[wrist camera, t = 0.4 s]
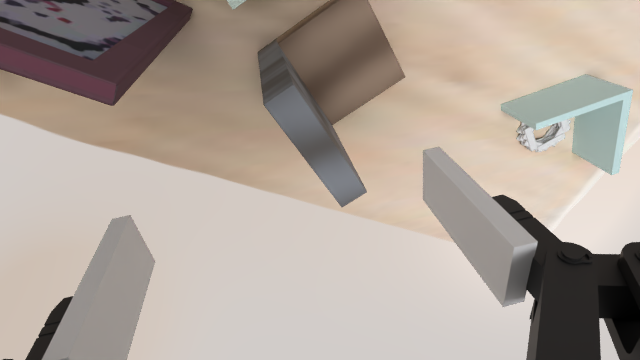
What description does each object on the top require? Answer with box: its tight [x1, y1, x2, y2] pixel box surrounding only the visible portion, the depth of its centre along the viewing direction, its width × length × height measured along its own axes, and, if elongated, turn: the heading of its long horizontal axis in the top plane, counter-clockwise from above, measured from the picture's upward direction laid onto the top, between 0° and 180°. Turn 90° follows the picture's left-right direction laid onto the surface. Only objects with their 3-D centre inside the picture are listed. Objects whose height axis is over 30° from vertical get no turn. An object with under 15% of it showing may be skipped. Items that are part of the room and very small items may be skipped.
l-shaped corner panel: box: [501, 74, 633, 175], centre depth 50 cm, size 12×12×8 cm
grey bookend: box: [258, 0, 405, 207], centre depth 35 cm, size 11×12×18 cm
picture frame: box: [0, 0, 192, 106], centre depth 26 cm, size 17×10×25 cm, turn 65°
